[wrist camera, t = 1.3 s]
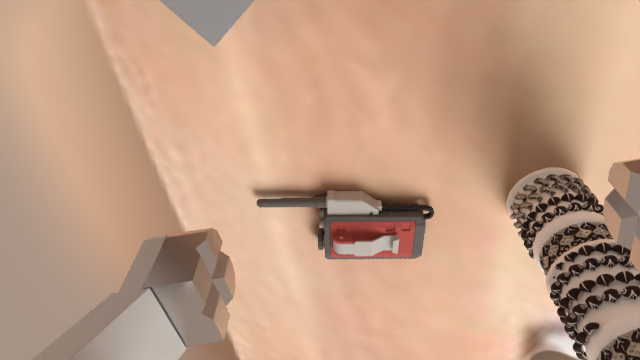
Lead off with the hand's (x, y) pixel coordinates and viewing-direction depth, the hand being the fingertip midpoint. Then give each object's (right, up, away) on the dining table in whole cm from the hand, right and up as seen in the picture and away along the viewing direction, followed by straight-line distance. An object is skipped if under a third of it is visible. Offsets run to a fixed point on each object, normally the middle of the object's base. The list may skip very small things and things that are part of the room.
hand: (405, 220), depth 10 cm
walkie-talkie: (+1, -4, +46) cm, 46 cm away
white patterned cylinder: (+24, -1, +43) cm, 49 cm away
